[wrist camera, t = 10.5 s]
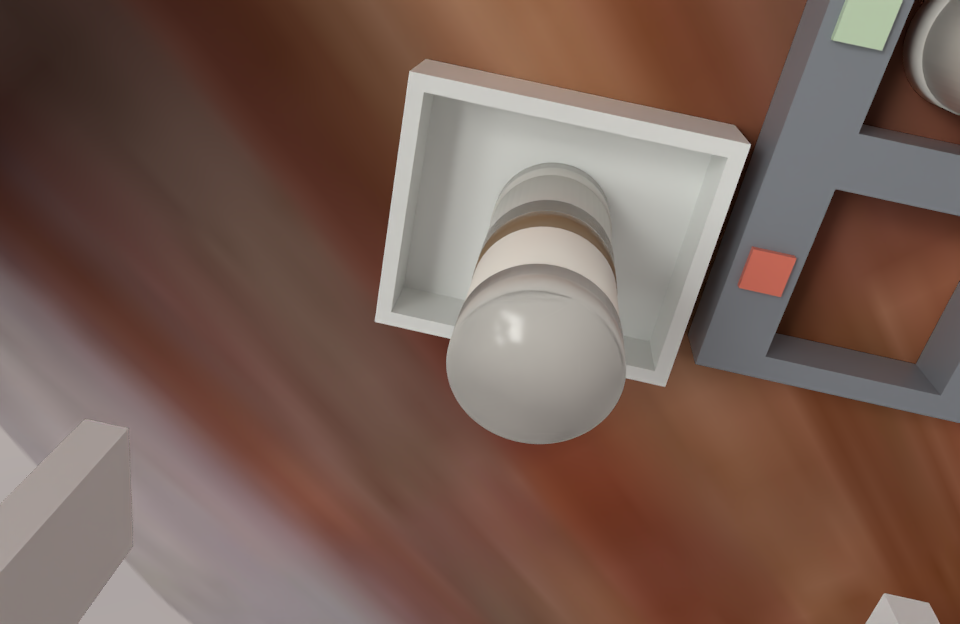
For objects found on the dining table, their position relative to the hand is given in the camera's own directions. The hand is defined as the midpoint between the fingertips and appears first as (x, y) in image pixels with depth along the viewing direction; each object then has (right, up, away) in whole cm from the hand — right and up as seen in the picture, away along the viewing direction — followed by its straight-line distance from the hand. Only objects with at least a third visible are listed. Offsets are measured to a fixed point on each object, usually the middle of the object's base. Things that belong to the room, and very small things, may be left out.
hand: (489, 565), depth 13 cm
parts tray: (+3, +8, +18) cm, 20 cm away
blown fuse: (+3, +8, +17) cm, 19 cm away
